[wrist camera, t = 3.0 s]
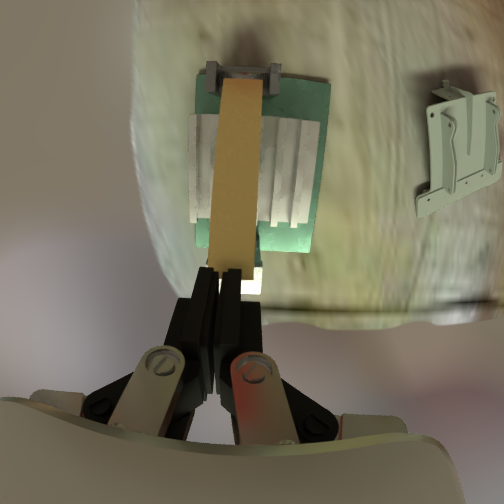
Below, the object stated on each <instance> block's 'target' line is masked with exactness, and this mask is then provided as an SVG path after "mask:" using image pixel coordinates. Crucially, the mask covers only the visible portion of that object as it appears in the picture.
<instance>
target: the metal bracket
mask: <svg viewBox="0 0 504 504" xmlns="http://www.w3.org/2000/svg"><path fill="white" fill-rule="evenodd" d="M442 82H443V87H444V88H440V89H437V90H432V91H431V93H433V94H436V95H438V96H440V97H442V98H444V99H446V100H448V101H445V102H441V103H437V104H433V105H429V106H427V108H426V115H427V124H428V135H429V149H430V190H429V191H427V192H424V193H422V194H420V195H418V196H417V197H416V216H417V218H422V217H425V216H427V215H429V214H431V213H433V212H435V211H437V210H439V209H440V208H441V207H443V206H446V205H448V204H450V203H452V202H454V201H456V200H458V199H460V198H462V197H464V196H466V195H468V194H471V193H473V192H475V191H477V190H479V189H481V188H483V187H486V186H488V185H490V184H492V183H494V182H496V181H497V180H499V179H500V176H501V170H502V161H501V160H500V159H499V160H498V157H499V137H498V130H497V124H498V121H499V118H500V116H501V110H500V108H499V107H498V106H497V105H496V92H495V91H490V92H485V93H480V94H475V95H473V94H472V93H471V92H468V91H464V90H461V89H459V88H457V87H455V86H450V84H449V82H450V81H449V80H442ZM492 98H494V100H493V101H492ZM431 113H433V116H432V117H431V116H430V114H431Z"/></svg>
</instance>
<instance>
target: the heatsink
mask: <svg viewBox="0 0 504 504" xmlns="http://www.w3.org/2000/svg"><path fill="white" fill-rule="evenodd" d="M220 71H237V72H259V73H268V83H267V87H263V88H262V111H261V133H260V155H259V177H258V198H257V219H256V240H255V261H254V281H253V280H241V294H260V291H261V280H262V270H263V265H262V261H261V256H260V250H268V251H288V252H308V253H309V250H310V245H311V239H312V233H313V227H314V221H315V215H316V209H317V202H318V195H319V189H320V181H321V174H322V167H323V159H324V151H325V142H326V133H327V124H328V114H329V103H330V91H331V84H327V83H322V82H315V81H309V80H302V79H294V78H285V77H281V64H277V63H271V65H270V67H269V68H263V67H244V66H220V65H219V64H218V62H217V61H207V62H206V74H200V75H197V79H196V100H195V114H192V115H189V204H190V223H195V229H196V247H206V248H209V230H210V214H211V200H212V186H213V174H214V162H215V151H216V141H217V131H218V122H219V113H220V104H221V96H222V88H223V86H219V73H220ZM206 267H208V258H207V262H206ZM221 280H222V279H219V292H220V287H221Z"/></svg>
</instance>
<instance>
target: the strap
mask: <svg viewBox="0 0 504 504" xmlns="http://www.w3.org/2000/svg"><path fill="white" fill-rule="evenodd" d="M267 83H268V73H259V72H237V71H220V73H219V86H223V88H222V96H221V104H220V113H219V122H218V131H217V141H216V151H215V162H214V174H213V186H212V200H211V214H210V230H209V249H208V267H213V268H214V271H219V279H222V273H223V272H228V268H235V269H242V278H241V280H253V281H254V261H255V240H256V219H257V198H258V177H259V155H260V133H261V111H262V88H263V87H267Z"/></svg>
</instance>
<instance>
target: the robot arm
mask: <svg viewBox="0 0 504 504" xmlns="http://www.w3.org/2000/svg"><path fill="white" fill-rule="evenodd" d="M241 278H242V269H235V268H228V272H223V273H222V280H221V287H220V294H219V271H214V268H213V267H200V268H199V271H198V275H197V278H196V282H195V285H194V289H193V293H192V296H191V298H178V301H177V304H176V306H175V310H174V313H173V316H172V319H171V322H170V325H169V329H168V332H167V335H166V338H165V342H164V345H163V346H156V347H153V348H151V349H149V350H148V351H147V352H145V354H144V355H143V356H142V358H141V360H140V362H139V363H138V365H137V367H136V369H135V371H134V372H132V373H130V374H128V375H126V376H124V377H122V378H121V379H119V380H117V381H115V382H113V383H111V384H109V385H107V386H105V387H103V388H101V389H99V390H96V391H94V392H93V393H91V394H90V395H88V396H85V395H84V394H83V393H76V392H64V391H54V390H44V389H42V390H37V391H35V392H34V393H33V394H32V395H31V396H30V398H29V399H26V398H20V397H2V398H0V504H465V499H464V495H463V491H462V487H461V484H460V481H459V477H458V474H457V471H456V468H455V466H454V463H453V461H452V459H451V457H450V455H449V453H448V451H447V450H446V449H445V447H444V446H443V445H442V444H441V443H440V442H439V441H438V440H436V439H434V438H432V437H429V436H425V435H421V434H414V433H408V430H407V426H406V424H405V423H404V421H403V420H402V419H400V418H398V417H396V416H382V415H357V414H342V416H338V415H333V414H332V413H331V412H330V411H328V410H327V409H325V408H324V407H322V406H321V405H319V404H318V403H316V402H315V401H313V400H312V399H310V398H309V397H307V396H306V395H304V394H303V393H301V392H300V391H299V390H297V389H295V388H294V387H293V386H291V385H290V384H289V383H287V382H286V381H284V380H283V379H282V378H281V377H280V374H279V370H278V367H277V365H276V363H275V361H274V360H273V359H272V358H271V357H270V356H268V355H266V354H264V353H263V348H262V330H261V309H260V302H249V301H241ZM214 374H215V380H216V392H217V394H220V398H221V405H222V406H223V407H224V408H225V409H226V410H227V411H228V412H230V413H231V422H232V428H233V434H234V442H235V445H221V444H209V443H198V442H190V441H186V439H187V436H188V433H189V430H190V427H191V424H192V421H193V417H194V414H195V408H197V407H198V406H200V405H201V404H203V401H206V400H207V394H212V393H213V383H214Z"/></svg>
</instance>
